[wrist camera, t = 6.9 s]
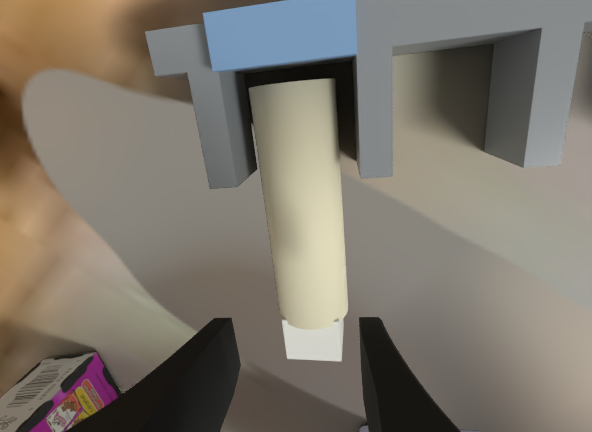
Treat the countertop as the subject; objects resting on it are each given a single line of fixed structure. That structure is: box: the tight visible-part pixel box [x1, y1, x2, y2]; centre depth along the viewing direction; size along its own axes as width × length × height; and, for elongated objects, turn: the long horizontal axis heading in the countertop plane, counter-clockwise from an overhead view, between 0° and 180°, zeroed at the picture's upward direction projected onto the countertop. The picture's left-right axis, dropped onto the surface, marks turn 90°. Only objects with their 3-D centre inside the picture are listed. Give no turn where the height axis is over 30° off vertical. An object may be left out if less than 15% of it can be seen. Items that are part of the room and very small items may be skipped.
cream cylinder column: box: [249, 79, 348, 361], centre depth 16 cm, size 13×4×4 cm, turn 6°
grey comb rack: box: [145, 0, 592, 189], centre depth 13 cm, size 6×22×4 cm, turn 96°
